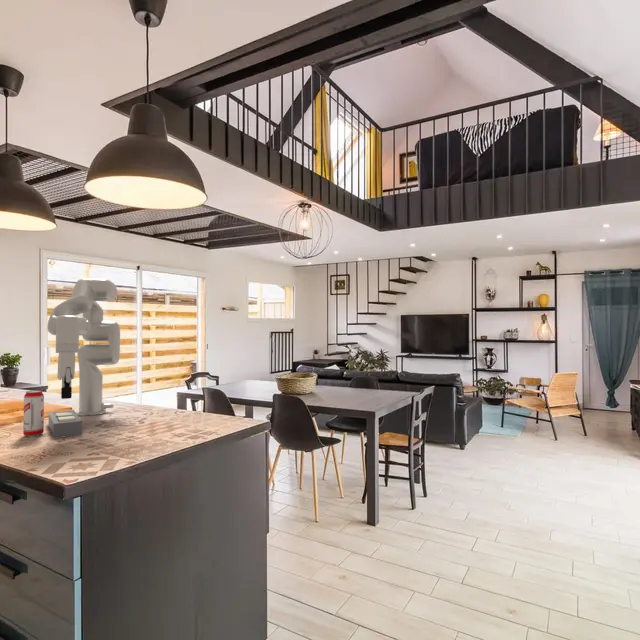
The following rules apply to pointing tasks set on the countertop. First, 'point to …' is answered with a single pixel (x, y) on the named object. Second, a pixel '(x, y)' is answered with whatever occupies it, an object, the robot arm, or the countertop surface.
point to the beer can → (33, 413)
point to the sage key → (64, 415)
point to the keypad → (65, 425)
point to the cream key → (66, 418)
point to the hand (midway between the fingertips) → (66, 398)
